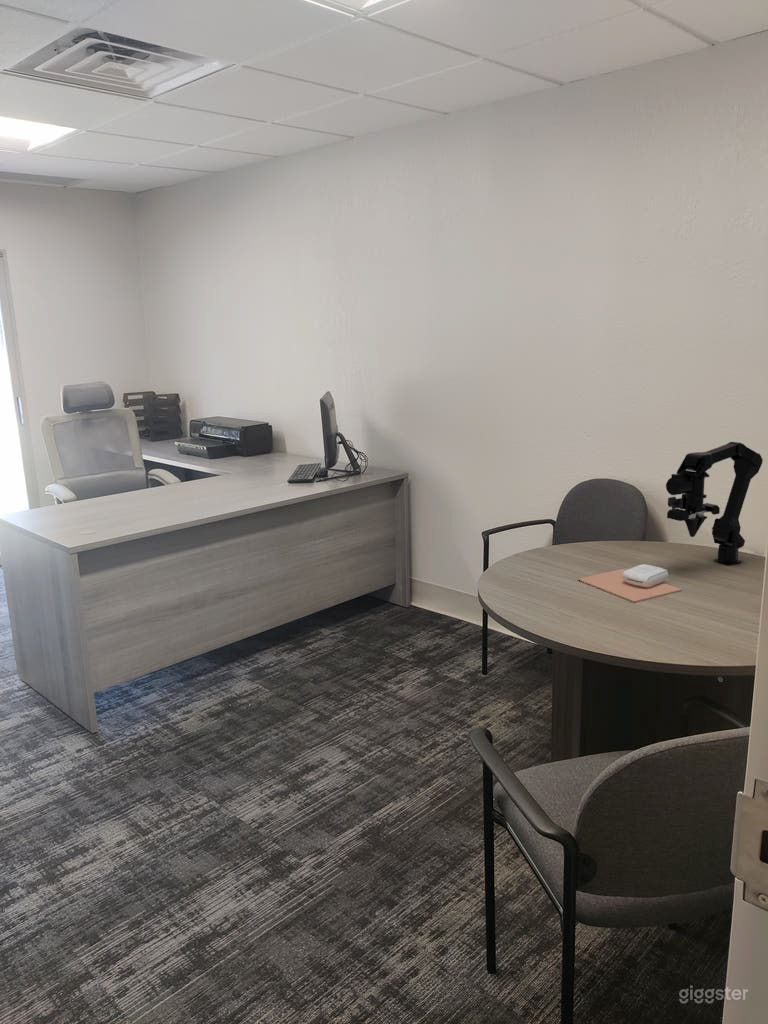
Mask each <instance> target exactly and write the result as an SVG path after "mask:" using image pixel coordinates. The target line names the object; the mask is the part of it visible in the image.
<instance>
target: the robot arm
mask: <svg viewBox="0 0 768 1024" xmlns="http://www.w3.org/2000/svg"><path fill="white" fill-rule="evenodd" d="M729 458H730V459H731V460H732V461H733V471H734V474H735V476H734V479H733V483H732V487H731V489H730V492H729V496H728V499H727V502H726V505H725V508H724V512H723V515H721V516H720V518H717V517H716V518H715V519H714V522H713V526H712V527H711V535H712V538H713V542H714V544H718V550H717V558H715V559H713V560H714V562H717V561H718V563H720V562H721V564H723V563H725V565H727V564H728V566H730V564H732V565H736V564H739V563H738V562H740V563H742V560H740V559H739V549H741V548H742V547H743V548H744V546H745V543H746V539H744V537H743V536H742V535H741V533H740V532H741V524H740V521H739V518H740V515H741V511H742V509H743V505H744V503H745V499H746V495H747V492H748V489H749V486H750V483H751V480H752V479H753V478H754V477H755V476H756V475H757V474H758V473H760V472H759V471H760V469H761V467H762V465H763V461H764V460H763V457H762V455H761V454H760V453H759V452H756V451H755V450H753V449H751V448H750V447H747V446H746V445H745V444H744V443H742V442H737V441H730V442H728V443H725V444H723V445H720V446H718V447H715V448H712V449H710V450H706V451H701V452H700V451H698V452H689V453H687V454H686V455H685V456H684V458H683V461H682V462H681V464H680V465H679V467H678V469H677V471H676V473H672V474H671V475H670V476H671V477H670V478H668V480H667V481H666V483H665V488H666V491H667V492H668V494H669V495H671V496H672V497H667V498H668V499H667V505H668V507H669V508H671V509H669V510H667V513H666V518H667V519H669V520H670V519H671V520H675V521H677V522H678V521H679V522H682V521H683V522H684V523H685V525H686V528H687V531H688V534H689V537H691V538H694V537H695V536H696V535H697V533H698V531H699V530H700V528H701V526H702V525H703V523H704V522H705V520H706V519H708V516H705V513H711V514H712V515H713V516H714V515H719V514H720V511H721V510H720V509H721V508H720V507H719V505H718V504H713V503H709V502H708V503H707V502H706V503H704V500H705V499H707V494H705V479H706V478H710V474H709V473H707V471H708V470H709V469H711V468H712V466H713V465H714V464H717V463H719V462H722V461H724V460H727V459H729ZM677 495H681V497H680V498H676V496H677ZM735 563H736V564H735Z"/></svg>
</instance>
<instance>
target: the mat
mask: <svg viewBox="0 0 768 1024" xmlns="http://www.w3.org/2000/svg"><path fill="white" fill-rule="evenodd" d="M626 570H627V569H626V568H621V569H617V570H612V571H607V572H602V573H599V574H593V575H589V576H585V577H581V578H580V577H579V578H577V581H578V580H580V581H583V582H585V583H587V584H586V585H588V584H589V585H588V586H590V585H592V586H591V587H593V586H594V588H595V587H596V588H595V589H598V588H599V589H598V590H600V589H601V591H604V592H605V591H606V593H609V594H610V593H611V595H613V596H616V597H619V598H620V599H624V600H626V601H628V602H631V603H639V602H642V601H643V602H644V601H648V600H651V599H654V598H659V597H663V596H667V595H671V594H675V593H679V592H683V589H682V588H679V587H676V586H673V585H670V584H667V583H664V582H661V583H659V584H656V585H654V586H651V587H640V586H636V585H632V584H629V583H627V582H625V581H624V580H623V579H622V574H623V572H624V571H626ZM580 581H579V582H580ZM583 582H582V583H583ZM585 583H584V584H585Z"/></svg>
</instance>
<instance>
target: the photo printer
mask: <svg viewBox="0 0 768 1024" xmlns="http://www.w3.org/2000/svg"><path fill="white" fill-rule="evenodd" d="M625 570H626V571H624V572H623V574H622V579H623V580H624V581H625V582H627V583H629V584H632V585H636V586H640V587H651V586H654V585H656V584H659V583H661V582H662V583H664V582H666V581H667V579H668V578H669V572H668V571H667V569H665V568H662V567H658V566H654V565H651V564H645V563H644V564H643V563H642V564H640V565H636V566H634V567H631V568H628V569H625Z"/></svg>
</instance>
